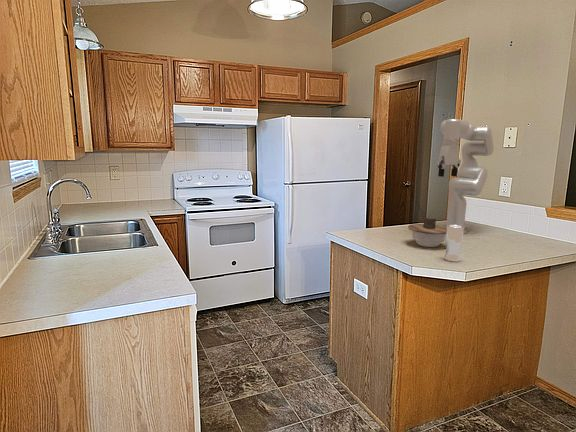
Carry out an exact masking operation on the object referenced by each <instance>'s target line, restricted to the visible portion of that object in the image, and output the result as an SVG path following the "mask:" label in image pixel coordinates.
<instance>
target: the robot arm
mask: <svg viewBox="0 0 576 432" xmlns="http://www.w3.org/2000/svg"><path fill="white" fill-rule="evenodd" d="M440 132H441V134H442V135H443V142H442V146H441V147H440V151H439V156H438V159H436V166H437V168H438V175H437V176H438V177H441V178H442V177H443V178H444V176H445V168H446V166H451V167H452V168H451V173H450V176H451V177H453V178H451V179H450V180H449V181H448V204H447V205H448V207H447V217H446V227H447V225H460V226H463V227H464V229H463V235H464V234H466V233H467V230H466V229H467V228H469V227H470V225H469V224H465V220H466V212H467V211H466V210H467V199H466V198H465V197H464V196H475V197H476V196H479V195H480V194H481V192H482V191H483V188H484V186H485V183H486V182H487V179H488V174H489V173H488V170H487V168H486V167H485V166H478V165H479V163H478V161H477V159H476V158H474V157H475V156H478V157H488V156H491V155H492V154H493V153H494V141H493V133H492V130H491V128H490V126H488V125H473V124H471V123H470V122H469V121H468V120H466V119H458V118H449V119H445V120H443V121H441V123H440ZM460 139H464V140H466V142H464V143H463V144H462V146H461V158H462V159H460V147H459V144H460Z"/></svg>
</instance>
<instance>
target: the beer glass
mask: <svg viewBox="0 0 576 432" xmlns="http://www.w3.org/2000/svg"><path fill="white" fill-rule="evenodd" d="M463 229H464V227H463V226H460V225H447V230H446V234H445V249H446V250H445V255H444V260H446V261H448V262H454V263H455V262H460V250H461V247H462V243H463V240H464V234H463ZM464 230H465V229H464Z"/></svg>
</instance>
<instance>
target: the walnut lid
mask: <svg viewBox="0 0 576 432" xmlns="http://www.w3.org/2000/svg"><path fill="white" fill-rule="evenodd" d="M436 222H437V218H435V217H431V216H430V217H429V216H427V217H424V218H423V223H413V224H409V225H408V226H407V228H408V230H409V231H412V232H413V231H415V232H420V233H427V234H445V235H446V230H447V227H445V226H442V225H439V224H438V225H437V223H436Z"/></svg>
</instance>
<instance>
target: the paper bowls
mask: <svg viewBox="0 0 576 432" xmlns="http://www.w3.org/2000/svg"><path fill="white" fill-rule="evenodd" d="M445 237H446V234H427V233H420V232H415V231H412V234H411V239H413V240H415V242H416V244H417V245H418V246H420V247H424V248H436V247H438V246H440V244H441V243H444V242H445V240H446V238H445Z"/></svg>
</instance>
